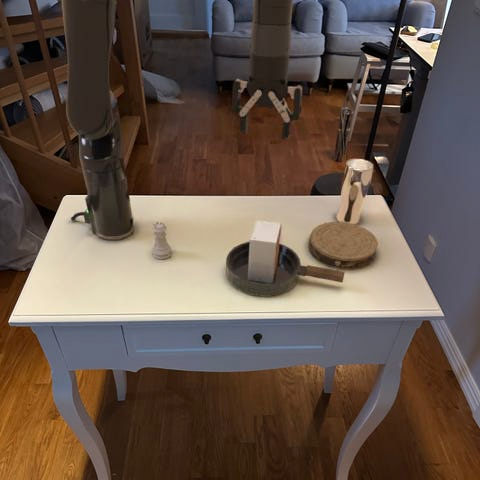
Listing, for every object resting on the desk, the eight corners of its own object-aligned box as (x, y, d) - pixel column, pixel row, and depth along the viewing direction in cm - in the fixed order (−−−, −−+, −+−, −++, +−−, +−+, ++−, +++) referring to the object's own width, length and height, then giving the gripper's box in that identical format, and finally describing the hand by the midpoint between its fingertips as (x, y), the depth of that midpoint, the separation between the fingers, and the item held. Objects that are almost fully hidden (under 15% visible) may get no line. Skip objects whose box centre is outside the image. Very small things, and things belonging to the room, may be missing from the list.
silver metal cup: (334, 211, 122) (344, 157, 111) (360, 213, 121) (373, 159, 111) (334, 224, 117) (345, 169, 106) (361, 227, 116) (375, 171, 106)
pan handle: (296, 274, 97) (297, 268, 96) (298, 268, 98) (299, 262, 97) (342, 283, 95) (343, 277, 94) (343, 276, 97) (344, 271, 95)
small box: (272, 284, 97) (276, 243, 90) (247, 280, 98) (249, 239, 90) (277, 263, 103) (282, 222, 96) (253, 259, 103) (256, 219, 96)
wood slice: (311, 228, 115) (313, 217, 113) (374, 236, 113) (377, 226, 111) (305, 264, 104) (307, 253, 101) (375, 274, 102) (378, 263, 99)
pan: (216, 288, 96) (216, 275, 94) (237, 247, 108) (237, 235, 105) (291, 303, 93) (293, 290, 91) (304, 260, 105) (306, 247, 102)
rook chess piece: (175, 252, 106) (173, 222, 100) (165, 262, 103) (162, 232, 97) (159, 247, 107) (155, 217, 101) (148, 257, 104) (144, 226, 98)
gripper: (310, 49, 86) (300, 134, 98) (239, 41, 89) (237, 125, 100) (303, 58, 81) (293, 147, 92) (228, 50, 84) (227, 138, 95)
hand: (264, 136), depth 96 cm, fingers open, 8 cm apart
